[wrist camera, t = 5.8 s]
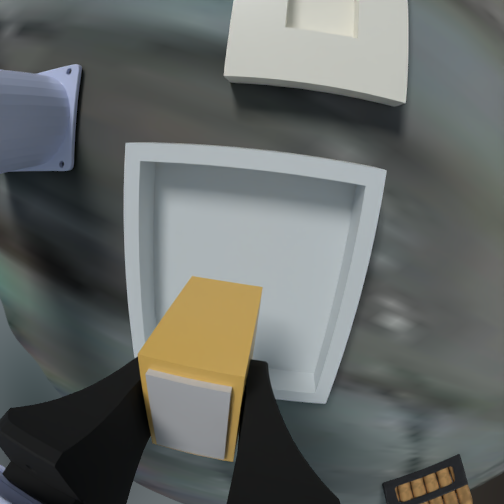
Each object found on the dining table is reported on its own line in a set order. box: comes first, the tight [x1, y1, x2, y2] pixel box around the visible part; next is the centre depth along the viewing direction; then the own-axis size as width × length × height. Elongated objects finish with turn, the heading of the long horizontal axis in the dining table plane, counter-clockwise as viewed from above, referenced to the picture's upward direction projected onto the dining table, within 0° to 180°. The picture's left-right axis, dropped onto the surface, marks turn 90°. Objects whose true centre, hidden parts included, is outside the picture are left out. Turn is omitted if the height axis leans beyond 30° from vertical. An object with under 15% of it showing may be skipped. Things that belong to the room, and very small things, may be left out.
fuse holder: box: [224, 0, 408, 107], centre depth 13 cm, size 10×12×2 cm
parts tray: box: [124, 142, 387, 404], centre depth 19 cm, size 14×16×3 cm
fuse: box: [138, 276, 263, 462], centre depth 11 cm, size 3×4×6 cm, turn 173°
